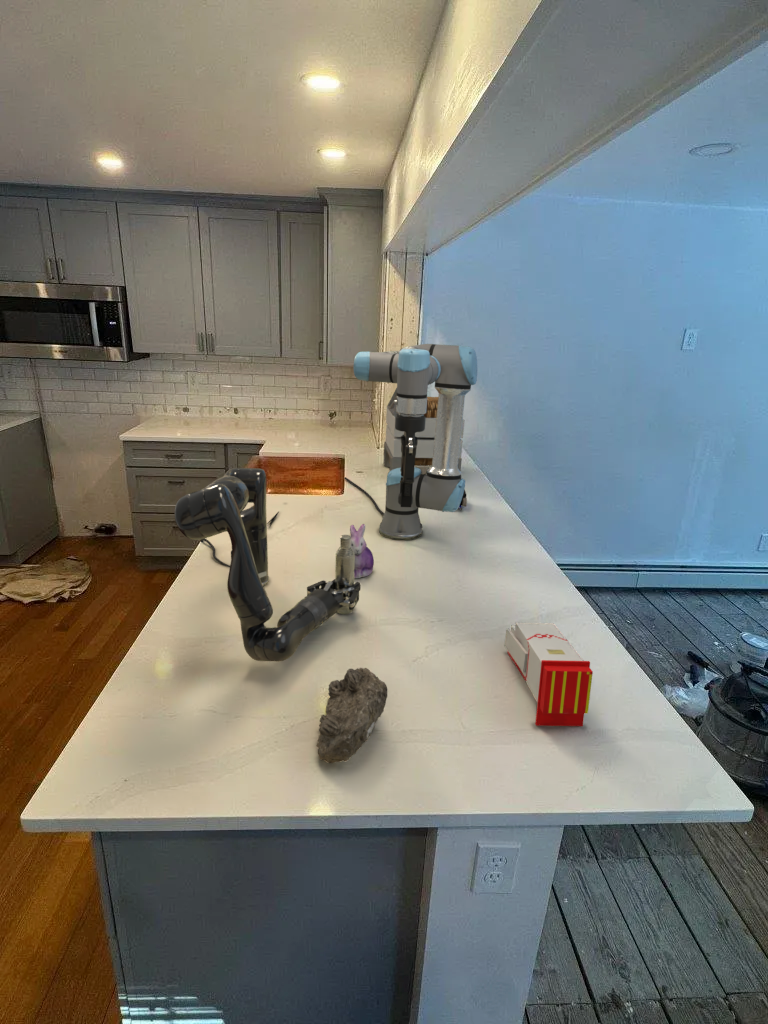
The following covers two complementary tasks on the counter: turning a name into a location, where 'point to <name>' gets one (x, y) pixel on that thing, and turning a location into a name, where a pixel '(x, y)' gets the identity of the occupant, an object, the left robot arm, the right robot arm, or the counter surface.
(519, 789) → the counter surface
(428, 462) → the grey wooden crate
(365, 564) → the figurine
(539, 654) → the toy
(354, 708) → the fossil
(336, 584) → the bottle
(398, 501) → the cap
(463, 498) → the figurine character
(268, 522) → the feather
